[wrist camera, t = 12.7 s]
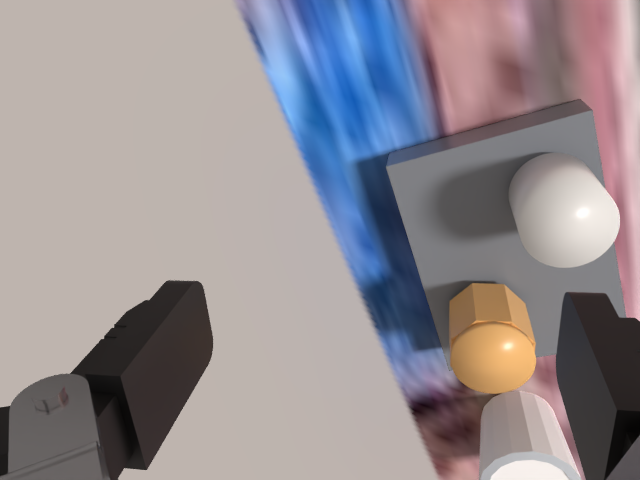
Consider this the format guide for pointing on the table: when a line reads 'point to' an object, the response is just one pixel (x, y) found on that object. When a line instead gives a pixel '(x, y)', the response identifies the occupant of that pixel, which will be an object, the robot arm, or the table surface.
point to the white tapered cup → (523, 440)
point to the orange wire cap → (490, 339)
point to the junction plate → (512, 215)
